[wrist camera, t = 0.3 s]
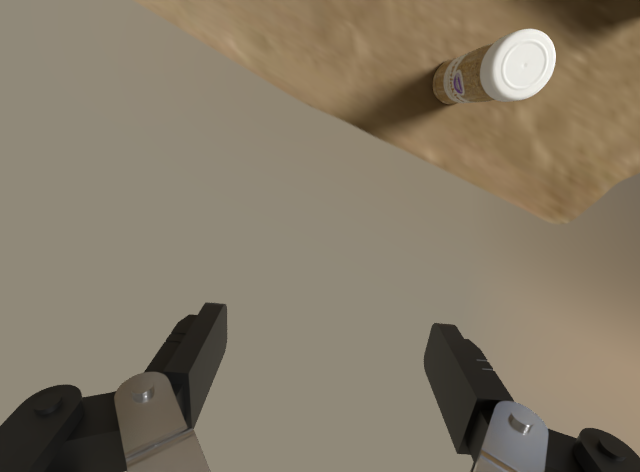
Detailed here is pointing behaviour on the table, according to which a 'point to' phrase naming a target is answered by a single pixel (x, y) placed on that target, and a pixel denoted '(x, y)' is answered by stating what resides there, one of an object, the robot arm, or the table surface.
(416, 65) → the table surface
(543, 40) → the sprinkles bottle
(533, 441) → the robot arm
